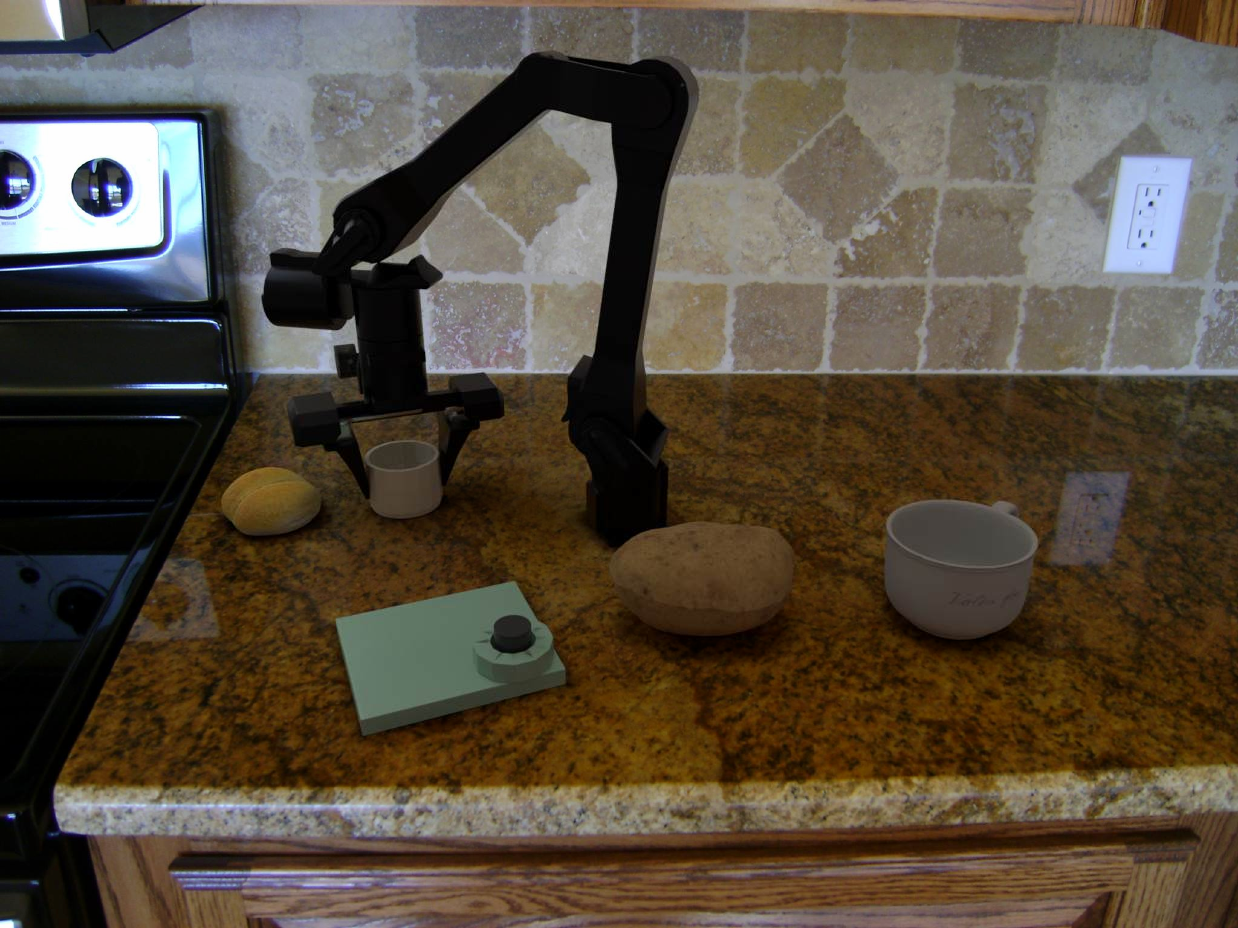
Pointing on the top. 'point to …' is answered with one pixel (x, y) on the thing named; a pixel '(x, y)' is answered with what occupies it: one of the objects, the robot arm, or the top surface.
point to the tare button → (512, 634)
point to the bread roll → (270, 502)
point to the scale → (441, 657)
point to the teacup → (958, 566)
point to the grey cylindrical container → (404, 478)
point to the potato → (704, 577)
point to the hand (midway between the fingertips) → (405, 490)
